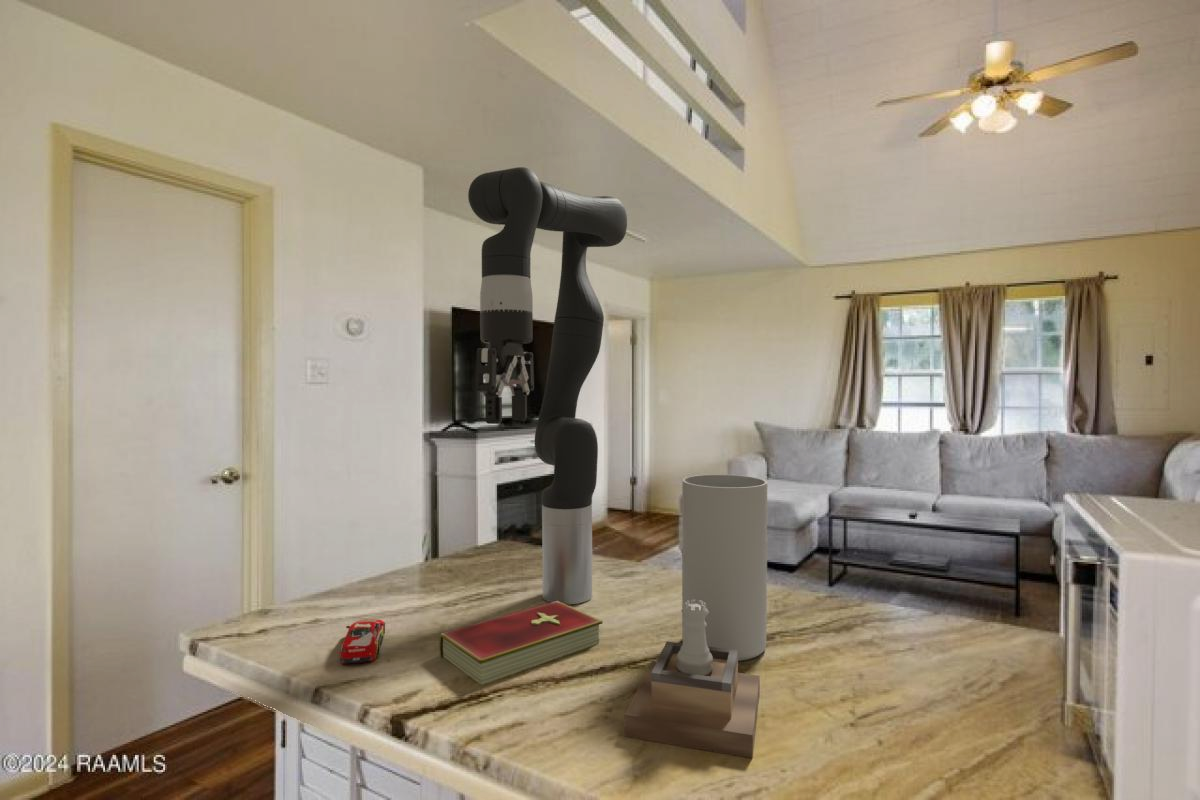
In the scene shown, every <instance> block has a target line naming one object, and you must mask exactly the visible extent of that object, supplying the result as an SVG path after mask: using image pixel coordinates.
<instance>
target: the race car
mask: <svg viewBox="0 0 1200 800" xmlns="http://www.w3.org/2000/svg"><path fill="white" fill-rule="evenodd" d="M345 629H348V631H347V633H346V635H345V638H344V640H343V642H342V644H341V646H340V647H341V648H340V653H339V654H340V659H339V661H340V663H341V664H347V665H348V664H356V663H357V664H358V663H368V662H372V661H374V660H376V659H377V658H379V657H378V656H379V654H380V650H381V647H382V644H383V640H384V637H385V633H386V622H385V621H383V620H381V619H377V618H367V619H363V620H359V621H355V622H353V623H352V624H350V625H346V626H345Z"/></svg>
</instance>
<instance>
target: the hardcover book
mask: <svg viewBox="0 0 1200 800" xmlns="http://www.w3.org/2000/svg"><path fill="white" fill-rule="evenodd" d="M602 624H603V620H601V619H599V618H597V617H595V616H592V615H590V614H588V613H586V612H583V611H582V610H579V609H578V608H577V609H576V608H575V607H572V606H570V605H569V604H564V603H561V602H559V601H555V602H552V603H551V602H548V603H545V604H541V605H538V606H535V607H531V608H528V609H522V610H520V611H517V612H513V613H509V614H506V615H502V616H499V617H496V618H492V619H488V620H485V621H481V622H478V623H475V624H474V623H473V624H471V625H467V626H464V627H460V628H456V629H452V630H449V631H446V632H442V633H440V634H439V639H438V640H439V641H438V642H439V644H438V645H439V646H438V648H439V657H440V659H441V658H445V660H446V661H448V662H450V663H451V664H452V665H454V666H455V667H456V666H457V667H456V668H458V669H459V670H460V669H461V671H462V672H463V671H464V672H463V673H465V674H466V675H467V676H468V677H470V678H471V679H472V680H474V681H476V683H478V684H479V685H480V686H483V685H486V684H489V683H491V682H495V681H497V680H500V679H502V678H501V677H503V678H505V677H504V676H506V677H508V675H509V676H511V675H513V674H512V673H514V674H516V673H515V672H517V673H519V672H518V671H520V672H522V671H521V670H523V671H525V670H524V669H526V670H527V668H528V669H531V668H533V667H532V666H534V667H536V666H535V665H537V666H539V665H538V664H540V665H542V664H541V663H543V664H545V663H547V662H546V661H548V662H551V661H553V660H552V659H554V660H556V659H555V658H557V659H559V658H558V657H560V658H562V657H564V655H565V656H568V655H570V653H571V654H574V653H577V652H579V651H581V650H584V649H588V648H590V647H593V646H596V645H598V644H600V625H602ZM573 652H574V653H573ZM567 654H568V655H567ZM550 660H551V661H550ZM544 662H545V663H544ZM530 667H531V668H530ZM510 674H511V675H510Z"/></svg>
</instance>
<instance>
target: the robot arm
mask: <svg viewBox="0 0 1200 800" xmlns="http://www.w3.org/2000/svg"><path fill="white" fill-rule="evenodd" d="M467 195H468V203H469V206H470V208H471V210H472V211H473V213H474V214H475V216H477V217H478V218H479V219H480V220H482V221H483V222H485V223H488V224H492V225H501V226H502V225H503V228H502V229H501V230H500V231H499V232H498V233H495V234H494V235H491V236H489V237H487V238H486V239H484V241H483V242H482V245H481V285H480V293H479V294H480V295H479V296H480V297H479V299H480V300H479V312H480V314H479V318H480V319H479V326H480V328H479V329H480V334H479V335H480V341H481V342H482V343H483V344H489V346H488V347H484V348H481V347H479V348H477V349H476V362H475V364H476V365H475V391H476V392H477V393H481V394H482V396H483V397H485V400H484V403H485V404H484V405H485V407H484V409H485V415H484V416H485V417H484V420H485V422H486V423H487V425H488V424H489V425H490V424H491V425H492V424H493V425H494V424H496V425H498V424H501V423H502V421H503V397H502V394H503V391H504V388H505V386H506V385H509V389H510V391H511V394H512V395H511V419H512V420H513V421H526V420H527V418H528V396H529V394H530V392H531V391H532V392H533V391H534V389H535V376H534V373H535V372H534V370H535V369H534V353H533V352H532V351H531V352H529V351H524V344H530V343H532V342H533V340H534V339H533V338H534V337H533V333H534V331H533V291H532V290H533V289H532V283H531V282H532V280H531V259H532V258H531V252H532V247H533V243H534V240H535V235H536V230H537V229H538V230H543V231H550V232H562V244H561V245H562V248H561V249H562V250H561V251H562V252H561V270H560V279H559V289H558V295H557V303H556V309H555V314H554V321H553V327H552V328H553V330H552V335H551V337H552V338H551V345H550V353H549V354H550V355H549V363H548V367H547V368H548V369H547V374H546V383H545V389H544V394H543V399H542V403H541V407H540V411H539V415H538V419H537V423H536V427H535V431H534V432H535V433H534V448H535V452H536V455H537V456H538V458H539V460H541V462H543V463H544V464H547V465H549V466H554V467H553V468H554V469H553V480H552V483H551V484H550V485H548V486H547V487H545V488H544V489H543V490H542V494H541V516H542V517H541V520H542V522H541V524H542V527H541V528H542V529H541V530H542V531H541V532H542V534H541V535H542V536H541V538H542V539H541V541H542V542H541V543H542V545H541V546H542V555H541V556H542V559H541V560H542V568H541V569H542V580H541V581H542V598H543V600H544V601H546V602H548V603H552V602H555V601H559V602H561V603H564V604H566V605H574V604H575V605H576V604H582V603H584V602H585V603H586V602H587V601H590V600H591V599H592V597H593V495H594V493H595V489H596V487H597V478H598V477H597V476H598V458H599V457H598V453H599V452H598V451H599V447H598V446H599V444H598V437H597V434H596V431H595V428H594V426H592V424H591V423H590V422H588V421H587V420H584V419H581V418H578V417H577V418H576V415H577V407H578V401H579V396H580V392H581V390H582V387H583V385H584V383H585V381H586V379H587V377H588V376H589V374H590V372H591V370H592V368H593V366H594V365H595V362H596V361H597V360H598V359H597V358H598V355H599V353H600V351H601V345H602V336H603V330H604V319H605V317H604V311H603V308H602V306H601V303H600V301H599V299H598V297H597V296H598V295H596V292H595V290H594V288H593V287H592V284H591V282H590V279H589V276H588V273H587V265H586V264H587V262H586V261H587V260H586V259H587V258H586V257H587V252H588V251H587V250H588V248H606V247H607V248H609V247H613V246H616V245H618V244H620V243H621V242H622V241H623V240H624V238H625V237H626V235H627V234H626V233H627V228H628V217H627V216H628V215H627V211H626V207H625V206H624V205H623V202H622V201H621V200H620V199H619V198H616V197H613V196H607V195H606V196H605V195H602V196H601V195H599V196H589V195H588V196H587V195H585V194H580V193H576V192H572V191H568V190H565V189H563V188H560V187H557V186H555V185H552V184H549V183H546V182H543V181H540V180H539V178H538V176H537V174H536V173H535V172H534V171H533V170H532V169H530V168H528V167H523V166H520V167H519V166H518V167H511V168H508V169H507V168H505V169H502V170H495V171H489V172H484V173H481V174H479V175H478V176H476V177H475V178H474V179H473V180H472V182H471V183H470V185H469V188H468V193H467Z"/></svg>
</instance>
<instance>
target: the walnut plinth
mask: <svg viewBox="0 0 1200 800" xmlns="http://www.w3.org/2000/svg"><path fill="white" fill-rule="evenodd" d="M682 645H683V642H681V643H680V642H674V641H667V640H666V642H665V644H664V646H663V648H662V650H661V652H660V654H659V656H658V658H657V660H656V661H651V662H650V665H649V666H648V668H647V670H646V672H645V674H644V676H643V677H642V680H641V682H640V684H639V686H638V688H637V690H636V692H635V694H634V696H633V697H632V699H631V702H630V704H629V706H628V707H627V710H626V712H625V714H624V737H626V738H627V737H628V738H633V739H638V740H644V741H650V742H655V743H662V744H667V745H671V746H672V745H673V746H677V747H678V746H680V747H684V748H690V749H696V750H701V751H702V750H703V751H707V752H713V753H721V754H725V755H731V756H738V757H742V758H747V759H753V757H754V749H755V741H756V740H755V739H756V729H757V721H758V711H759V704H760V693H761V691H760V681H761V680H760V679H761V678H760V677H761V676H760V675H758V674H751V673H742V672H739V661H738V650H732V649H724V648H716V647H708V646H707V647H708V648H709V650H710V651H709V652H710V653H711V654H712V657H713V662H712V664H713V666H714V668H713V670H712V671H711V673H710V674H708V675H707V676H703V675H695V674H688V673H681V672H680V671H679V669H678V668H677V665H676V664H677V662H678V659H677V654H678V652H679V651H680V650H681V649H680V648H681V646H682Z"/></svg>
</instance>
